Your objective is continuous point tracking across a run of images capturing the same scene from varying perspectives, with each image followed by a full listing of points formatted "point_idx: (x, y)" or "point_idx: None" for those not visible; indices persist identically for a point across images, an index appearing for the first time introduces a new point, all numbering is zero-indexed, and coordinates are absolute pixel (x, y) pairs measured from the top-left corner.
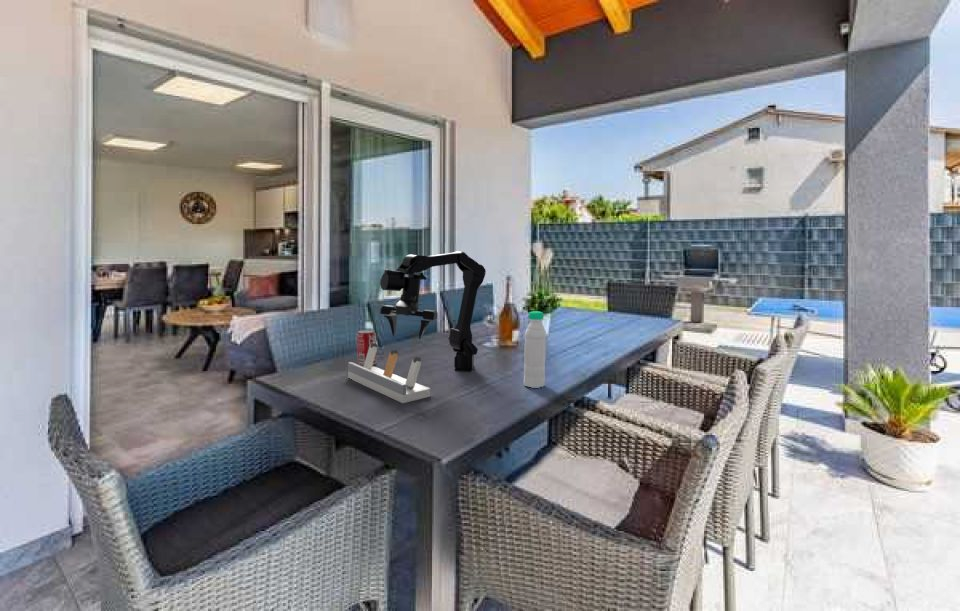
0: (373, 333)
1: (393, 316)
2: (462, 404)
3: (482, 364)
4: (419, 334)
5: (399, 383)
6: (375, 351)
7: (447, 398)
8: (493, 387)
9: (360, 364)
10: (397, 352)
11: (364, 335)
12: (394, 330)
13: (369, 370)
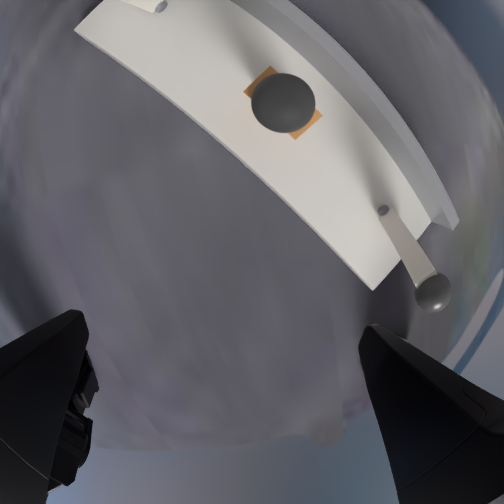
0: None
1: (489, 493)
2: (12, 28)
3: None
4: (49, 332)
5: None
6: (410, 264)
7: (39, 47)
8: None
9: (402, 338)
10: (252, 94)
11: None
12: (390, 369)
13: (371, 88)
